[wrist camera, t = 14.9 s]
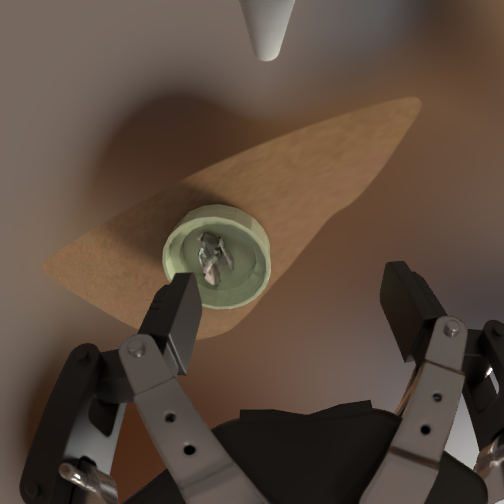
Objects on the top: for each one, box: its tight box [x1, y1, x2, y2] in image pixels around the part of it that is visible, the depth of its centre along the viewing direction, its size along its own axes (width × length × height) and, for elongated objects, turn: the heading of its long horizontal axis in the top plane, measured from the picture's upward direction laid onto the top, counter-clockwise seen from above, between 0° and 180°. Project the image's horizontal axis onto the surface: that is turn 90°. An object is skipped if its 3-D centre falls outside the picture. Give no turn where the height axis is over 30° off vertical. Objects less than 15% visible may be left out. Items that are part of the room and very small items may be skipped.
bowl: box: [162, 204, 271, 309], centre depth 41 cm, size 15×15×5 cm
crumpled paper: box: [198, 232, 235, 287], centre depth 40 cm, size 4×8×7 cm, turn 21°
